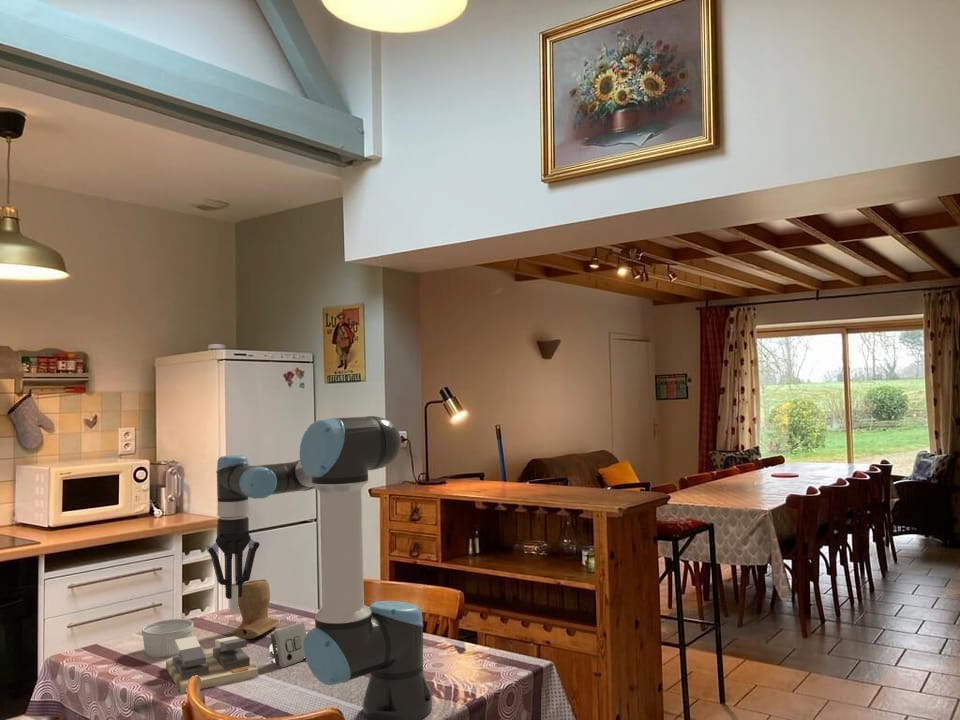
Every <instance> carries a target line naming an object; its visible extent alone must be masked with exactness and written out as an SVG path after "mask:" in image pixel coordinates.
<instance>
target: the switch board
mask: <svg viewBox="0 0 960 720" xmlns="http://www.w3.org/2000/svg"><path fill="white" fill-rule="evenodd" d="M204 654H205V656H206V664H201V665H196V666H191V667H186V668H184V666H183V663H182V661H181V660H179V655H175V656H171V657H172V658H171V659H165V669H166V671H167V673H168V674H169V676H170V677H171V679H172V680H173V683H175V686H176V687H177V688H178V690H179V692H180V694H185V693H187V692H186V687H187V684H188V681H189V679H190V678H191V677H192V676H195V675H198V676H200V679H201V688H204V689H208V687H209V688H212V686H213V687H218V686H223V685H226V684H232V683H236V682H240V681H245V680H250V679H254V678H258V677H259V676H258V675H259V674H258V673H259V669H258V667H257V666H256V665H255V664H254V663H253V662H252V661H251V658H250V656H249V655H248V654H247V653H246V652H245V651H244V650H243V648H238V649H233V650H228V651H223V652H221V651H220V648H218V647H213V648H212V651H208V652H207V651H206V652H204Z"/></svg>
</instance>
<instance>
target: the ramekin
mask: <svg viewBox="0 0 960 720" xmlns="http://www.w3.org/2000/svg"><path fill="white" fill-rule="evenodd" d="M194 627H195V625H194V622H193V620H191V619H186V618H171V619H163V620H156V621H153V622H151V623H147V624H146V625H144V626H143V627H142V629H141V635H142V639H143V640H142V641H143V647H144V652H145V653H146V654H147V656H149V657H152V658H168V657H172V656H175V655H179V654H178V652H177V650H176V647H175V640H176V639H182V638H187V637H193V630H194Z"/></svg>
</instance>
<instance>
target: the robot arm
mask: <svg viewBox="0 0 960 720" xmlns="http://www.w3.org/2000/svg"><path fill="white" fill-rule="evenodd" d="M401 449H402V436H401V434H400V432H399V430H398V428H397V427H396V426H395V424H394V423H393V422H391V421H390V420H388V419H386V418H384V417H381V416H376V415H375V416H374V415H373V416H372V415H370V416H369V415H368V416H355V417H354V416H353V417H352V416H351V417H331V418H324V419H318V420H316V421H314V422H312V423H311V424H310V425H309V426H308V427H307V429H306V430H305V431H304V432H303V435H302V438H301V441H300V445H299V460H295V461H289V462H283V463H271V464H261V465H250V464H249V460H248V457H247V456H246V455H243V454H237V455H236V454H232V455H230V454H229V455H224V456H220V457H218V459H217V461H216V462H217V463H216V464H217V466H216V488H217V489H216V495H217V496H216V497H217V501H216V502H217V508H216V509H217V514H216V515H217V517H219V518H218V519H217V521H216V522H217V524H216V525H217V536H216V539H215V542H214V543H213V544H212V545H211V546H207V547H206V551H207V552H208V554H209V555H210V559H211V562H212V565H213V569H214V573H215V577H216V580H217V582H218V584H219V585H221V586H224V587H225V588H224V589H225V591H224V592H225V594H224V595H225V598H226V599H227V600H229V611H230V612H231V613H237V612H238V613H239V606H238V597H241V596H242V585H243V583H244V582H248V581H250V578H251V574H252V569H253V565H254V561H255V556H256V553H257V550H258V549H259V548H260V542H258V541H256V540H254V539H252V538H251V535H250V534H249V533H250V532H249V531H250V527H249V524H250V523H249V517H248V515H249V513H250V512H249V498H251V499H254V500H256V499H266V498H268V497H269V496H272V495H279V494H280V495H281V494H285V493H294V492H305V491H306V492H307V491H310V490H314V489H317V490H318V492H319V511H320V513H319V518H320V519H319V520H320V521H319V522H320V555H321V556H320V559H321V560H320V563H321V564H320V565H321V604H322V605H321V608H320V609H319V610H318V611H317V612H316V614H315V615H314V621H315V624H314V625H315V626H314V627H313V628H311V629H310V630H309V631H308V632H306V637H305V639H304V653H305V658H306V659H305V661H306V663H307V666H308V668H309V670H310V671H311V673H312V675H313V676H314V677H315V678H316V680H317V681H318V682H320V683H322V685H323V684H324V686H325V685H326V686H334V685H338V684H344V683H345V684H346V683H348V682H349V681H351V680H354V679H357V678H361V677H363V676H366V675H370V676H369V680H368V684H367V686H366V690H365V693H364V697H363V701H362V714H363V716H364V718H366V719H368V720H422V719H423V718H425V717H426V716H428V715H429V714H431V712H432V710H433V698H432V694H431V691H430V686H429V685H428V681H427V680H426V679H427V678H426V676H425V674H424V638H423V637H424V633H423V632H424V631H423V630H424V624H423V613H422V610H421V607H419V606H418V605H416V604H414V603H411V602H406V601H396V600H381V601H374V602H371V604H370V605H369V606H367V605H366V604H365V599H364V598H365V595H364V591H365V590H364V556H363V555H364V554H363V553H364V550H363V516H362V513H363V510H362V507H363V506H362V490H363V488H364V486H365V485H366V484H368V483H369V471H373V470H379V469H383V468H385V467H389V466H390V465H392V464H393V463H394V462H395V461H396V460H397V458H398V457H399V455H400V453H401ZM246 547H248V550H247V554H246V559H245V563H244V568H243V557H244V555H243V552H244V551H245V550H246ZM219 549H220V551H221V552H222V553H223V555H224V574H223V571H222V570H223V569H222V566H221V563H220V560H219V559H220V558H219V556H218V552H219ZM233 555H234V578H235V579H234V581H235V582H234V583H233Z"/></svg>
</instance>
